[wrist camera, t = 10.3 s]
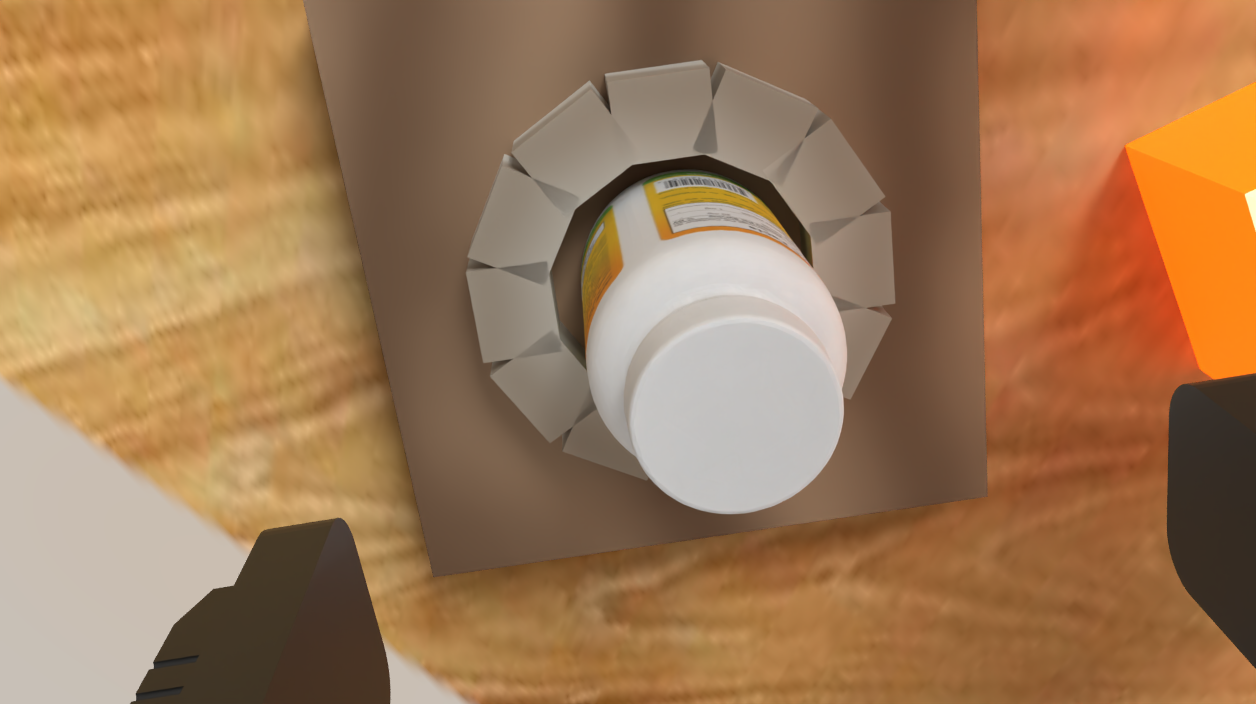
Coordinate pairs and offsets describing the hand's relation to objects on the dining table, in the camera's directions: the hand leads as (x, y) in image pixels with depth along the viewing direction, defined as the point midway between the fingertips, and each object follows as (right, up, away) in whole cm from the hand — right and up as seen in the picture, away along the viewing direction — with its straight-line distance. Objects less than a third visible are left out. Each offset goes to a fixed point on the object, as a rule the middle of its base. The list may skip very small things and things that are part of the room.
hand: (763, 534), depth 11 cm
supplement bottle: (0, +4, +19) cm, 19 cm away
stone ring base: (0, +5, +21) cm, 21 cm away
